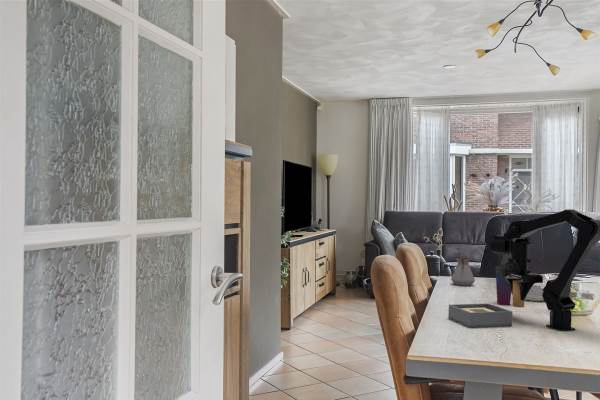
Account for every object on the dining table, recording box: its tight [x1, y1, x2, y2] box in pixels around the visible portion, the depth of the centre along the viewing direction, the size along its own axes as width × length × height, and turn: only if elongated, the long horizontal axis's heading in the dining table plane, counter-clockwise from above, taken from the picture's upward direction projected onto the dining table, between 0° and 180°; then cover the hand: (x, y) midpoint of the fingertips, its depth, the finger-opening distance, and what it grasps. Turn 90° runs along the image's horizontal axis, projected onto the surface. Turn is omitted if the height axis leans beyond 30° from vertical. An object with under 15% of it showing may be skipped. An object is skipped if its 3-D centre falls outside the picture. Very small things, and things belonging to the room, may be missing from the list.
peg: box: [511, 280, 525, 308], centre depth 190 cm, size 4×4×9 cm
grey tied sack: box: [450, 257, 475, 287], centre depth 262 cm, size 21×12×15 cm, turn 161°
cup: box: [495, 270, 512, 306], centre depth 218 cm, size 7×7×15 cm
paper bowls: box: [524, 283, 545, 302], centre depth 231 cm, size 15×15×8 cm
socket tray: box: [447, 303, 513, 329], centre depth 184 cm, size 14×16×5 cm
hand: (518, 299), depth 190 cm, fingers closed on peg, 4 cm apart
